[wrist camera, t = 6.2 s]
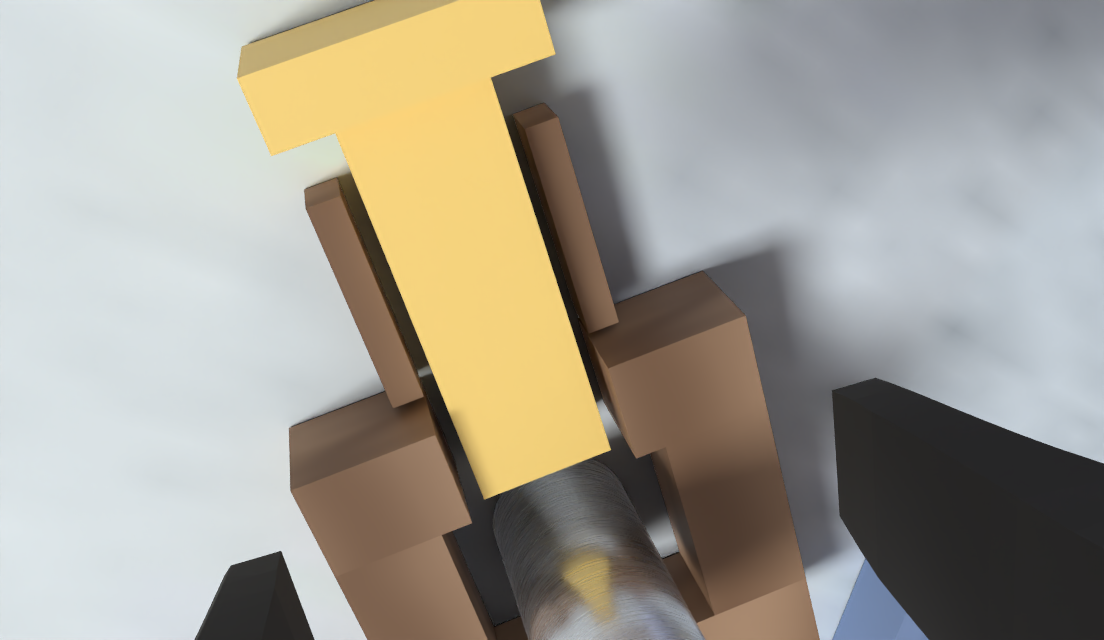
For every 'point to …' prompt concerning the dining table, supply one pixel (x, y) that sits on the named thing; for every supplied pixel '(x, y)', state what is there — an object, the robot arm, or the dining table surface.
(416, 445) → the socket
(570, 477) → the gray metallic cylinder
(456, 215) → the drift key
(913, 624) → the tray
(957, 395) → the dining table surface
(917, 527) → the robot arm
